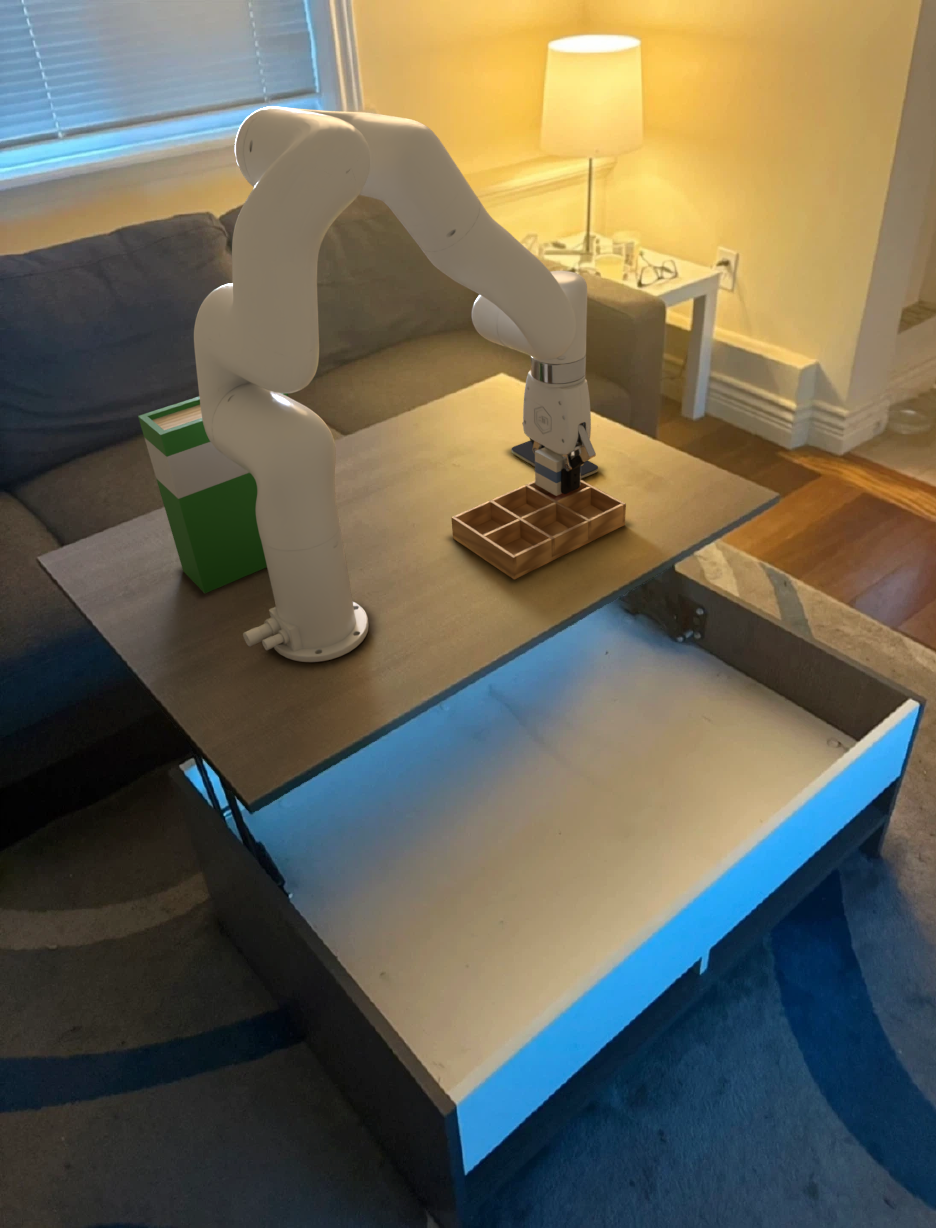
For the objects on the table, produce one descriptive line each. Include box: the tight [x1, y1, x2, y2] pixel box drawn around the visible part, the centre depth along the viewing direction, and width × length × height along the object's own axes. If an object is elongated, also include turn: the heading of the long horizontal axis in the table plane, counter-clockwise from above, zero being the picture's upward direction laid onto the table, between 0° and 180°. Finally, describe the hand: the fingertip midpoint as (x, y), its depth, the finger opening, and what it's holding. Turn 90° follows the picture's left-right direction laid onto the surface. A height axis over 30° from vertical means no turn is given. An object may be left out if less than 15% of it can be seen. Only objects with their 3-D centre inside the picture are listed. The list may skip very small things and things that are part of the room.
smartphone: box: [511, 439, 599, 479], centre depth 155 cm, size 7×1×15 cm
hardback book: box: [137, 393, 289, 594], centre depth 130 cm, size 18×7×24 cm, turn 127°
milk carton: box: [534, 447, 582, 496], centre depth 140 cm, size 5×5×6 cm
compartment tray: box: [450, 479, 627, 581], centre depth 137 cm, size 21×14×4 cm
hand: (557, 482), depth 141 cm, fingers closed on milk carton, 4 cm apart
